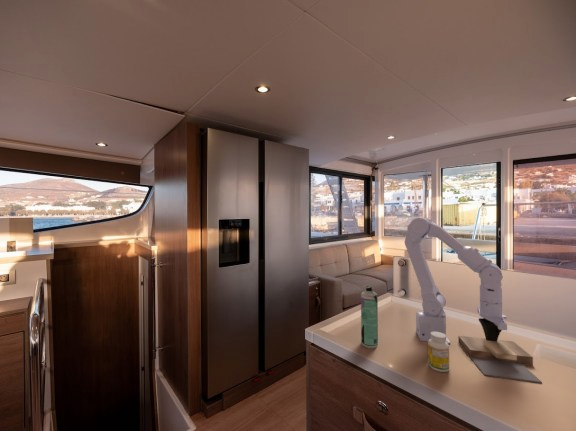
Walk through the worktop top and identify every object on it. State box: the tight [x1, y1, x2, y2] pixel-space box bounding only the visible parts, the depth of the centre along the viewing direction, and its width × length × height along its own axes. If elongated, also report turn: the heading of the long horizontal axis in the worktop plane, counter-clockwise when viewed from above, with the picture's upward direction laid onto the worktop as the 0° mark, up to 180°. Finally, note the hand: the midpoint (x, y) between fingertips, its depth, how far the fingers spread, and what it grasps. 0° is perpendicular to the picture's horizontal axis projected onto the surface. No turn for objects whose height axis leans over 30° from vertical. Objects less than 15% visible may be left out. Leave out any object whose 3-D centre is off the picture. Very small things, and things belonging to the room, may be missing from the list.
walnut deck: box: [457, 335, 534, 366], centre depth 82 cm, size 16×10×2 cm, turn 74°
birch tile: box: [484, 340, 517, 360], centre depth 78 cm, size 5×8×2 cm, turn 164°
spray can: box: [360, 285, 379, 349], centre depth 89 cm, size 6×6×20 cm
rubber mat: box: [470, 357, 543, 384], centre depth 74 cm, size 13×9×1 cm
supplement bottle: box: [427, 332, 450, 373], centre depth 75 cm, size 5×5×10 cm
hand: (491, 343), depth 83 cm, fingers closed
